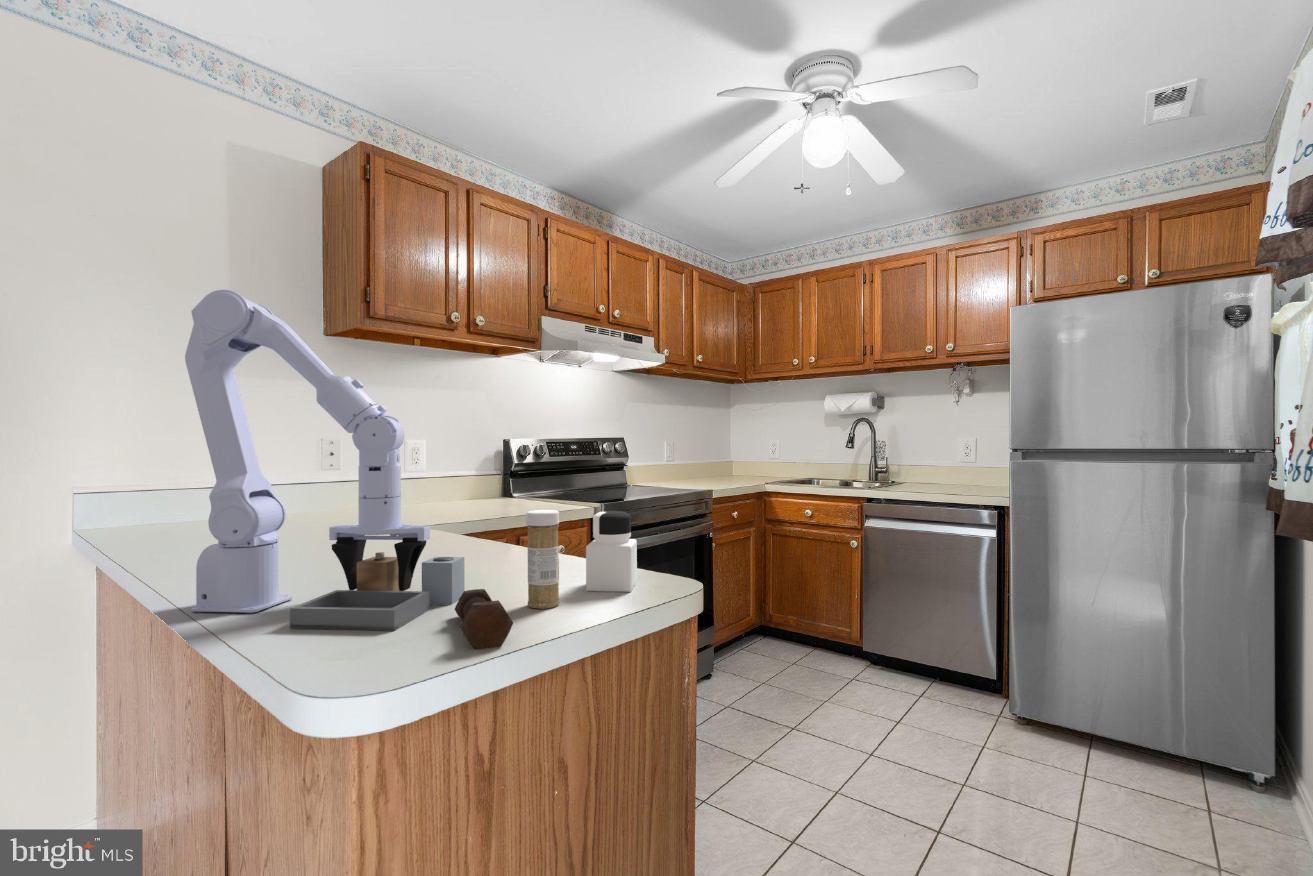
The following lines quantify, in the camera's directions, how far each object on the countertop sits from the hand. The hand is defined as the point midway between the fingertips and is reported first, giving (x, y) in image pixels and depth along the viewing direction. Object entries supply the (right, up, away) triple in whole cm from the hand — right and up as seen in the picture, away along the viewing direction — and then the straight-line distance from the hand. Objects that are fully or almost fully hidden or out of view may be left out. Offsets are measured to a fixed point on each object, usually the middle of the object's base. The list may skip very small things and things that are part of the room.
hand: (379, 589), depth 91 cm
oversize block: (+9, -2, 0) cm, 10 cm away
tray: (+2, -2, -10) cm, 10 cm away
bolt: (+19, -2, -15) cm, 24 cm away
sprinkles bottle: (+25, -2, -4) cm, 25 cm away
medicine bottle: (+34, -2, +8) cm, 35 cm away
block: (0, -2, 0) cm, 2 cm away
